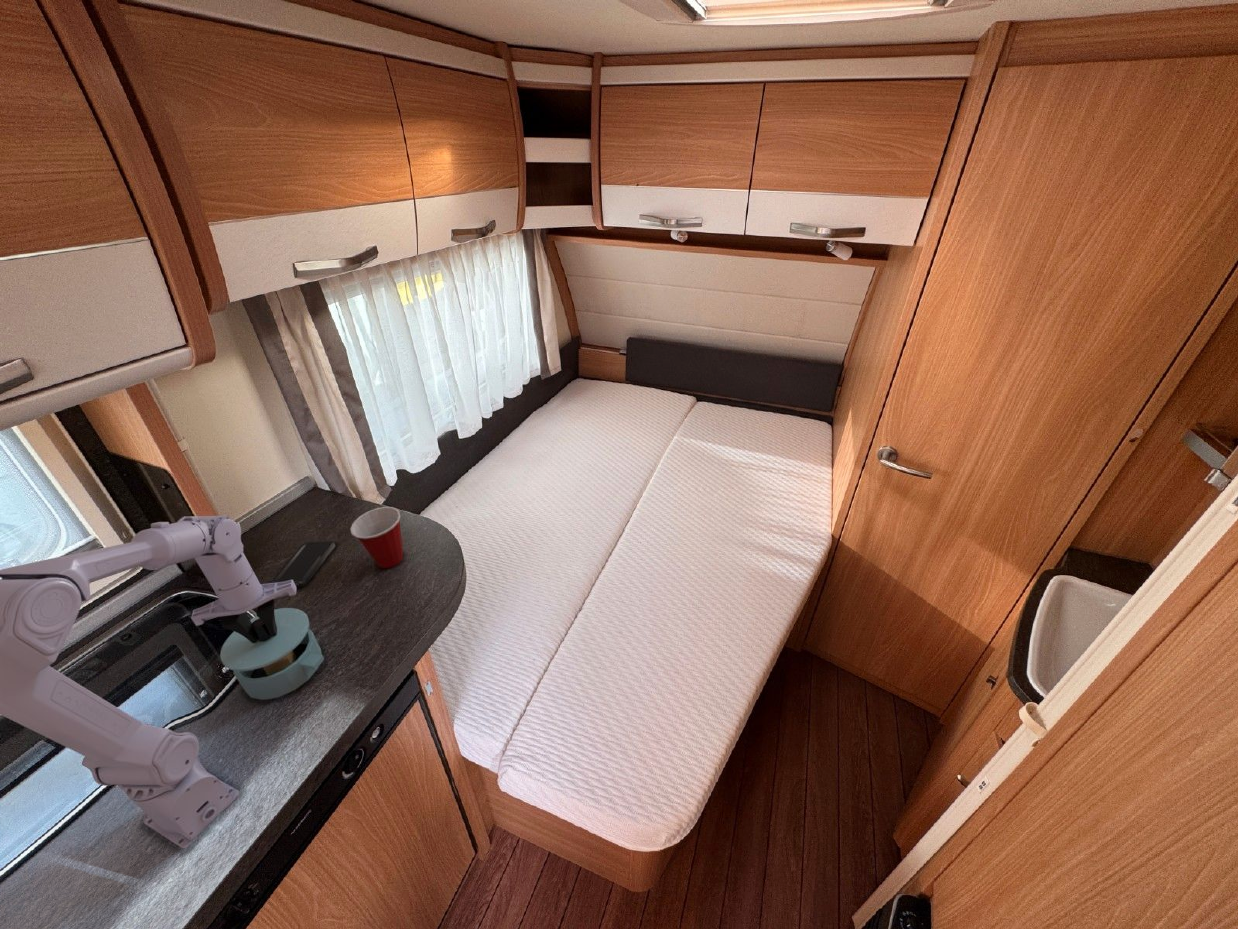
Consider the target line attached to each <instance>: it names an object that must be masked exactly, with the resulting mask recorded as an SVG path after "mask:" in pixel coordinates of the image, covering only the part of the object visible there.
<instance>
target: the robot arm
mask: <svg viewBox="0 0 1238 929" xmlns="http://www.w3.org/2000/svg"><path fill="white" fill-rule="evenodd" d="M244 547H245V546H244V544H243V542H242V528H241V524H240V522H236V521H235V520H233V519H232V518H231V517H229V516H227V515H193V516H190V515H189V516H182V517H181V518H179V520H177V521H176V522H173V523H170V522H169V521H157V522H152V523H150V528H146V529H143V530H140V531H138V532H137V533H136V534H135V535H134V536H133V537H132V539H131V541H130V542H126V543H120V544H116V545H112V546H106V547H101V548H97V549H91V550H87V551H82V552H77V553H72V554H67V555H62V556H57V557H53V558H47V559H42V560H38V561H33V562H29V563H25V564H19V565H15V566H11V567H6V568H2V569H0V578H1V579H0V716H2V717H4V718H7V719H8V720H11V721H13V722H15V723H16V724H18V725H21V726H23V727H25V728H26V729H29V730H30V731H32V732H35V733H37V734H38V735H41V736H42V737H45V738H47V739H49V740H51V741H53V742H55V743H57V744H59V745H62V746H63V747H66V748H67V749H70V750H72V752H73V751H74V752H75V753H78V754H79V755H81V756H83V759H82V762H81V766H83V767H85V768H87V769H88V770H89V771H90V772H91V775H92V778H93V780H94V782H95V783H96V784H98V785H99V786H105V787H106V786H107V787H108V786H113V785H116V786H118V788H120V789H121V790H123V791H124V794H125V795H126V796H127V797H128V798H129V799H131V800H132V801H133V803H134V804H135V805H137V807H138V808H139V809H140V810H141V811H142V812H143V813H144V814H145V815H146V816H147V817H146V818H145V819H144V821H143V824H144V825H146V826H147V827H149V828H151V829H152V830H153V831H155V832H156V833H158V834H159V835H161V836H162V837H163V838H166V839H168V840H169V841H170V842H172V843H174V844H175V845H177V846H178V847H180V848H181V849H186V848H188V847H189V846H190V845H191V844H192V843H193V842H194V840H196V839H197V838H198V836H199V835H200V834H201V833H202V832H204V830H205V829H206V828H207V827H209V825H210V824H211V823H212V822H213V821H214V820H216V818H217V817H218V816H219V815H220V814H221V813H222V812H223V811H225V810H227V809H228V807H229V806H231V804H233V802H234V801H235V800H236V799H237V798H238V797H239V796H240V794H241V792H240V790H238V789H237V788H235V787H233V786H231V785H230V784H228V783H226V782H224V781H222V780H220V779H219V778H217V777H216V775H213V774H211V773H210V772H208V771H207V770H206V768H205V767H204V766H203V765H202V764H201V762H200V761H199V760H198V757H199V752H200V743H199V739H198V737H197V736H196V734H194V733H193V732H189V731H185V732H175V731H173V730H172V729H169V728H165V727H161V726H156V725H151V724H148V723H144V722H141V721H140V720H138V719H136V718H135V717H133V716H131V715H130V714H128V713H127V712H125V711H123V710H122V709H120V708H118V707H117V706H115V705H114V704H113V703H111V702H109V701H107V700H106V699H104V698H102V697H101V696H99V695H97V694H96V693H94V692H93V691H91V690H89V689H87V687H85V686H82V685H81V684H79V683H78V682H76V681H75V680H73V679H71V678H70V677H68V676H66V675H65V674H63V673H62V672H60V671H58V670H56V669H55V668H53V667H52V666H51V665H52V664H53V663H55V662H56V660H57V658H58V657H59V654H60V652H61V650H62V649H63V646H64V645H65V642H66V640H67V639H68V636H69V634H70V632H71V630H72V628H73V626H74V624H75V622H76V620H77V618H78V616H79V613H80V610H81V606H82V602H88V601H89V600H90V598H91V588H90V584H91V583H95V582H97V581H101V580H103V579H106V578H109V577H112V576H115V575H117V574H121V573H123V572H126V571H129V570H132V569H134V568H138V567H140V568H143V569H144V570H149V571H156V570H161V569H164V568H167V567H170V566H174V565H177V564H181V563H184V562H186V561H190V560H193V559H194V560H195V562H196V564H197V565H198V567H199V569H200V570H201V572H202V573H203V575H204V576H205V578H206V580H207V581H208V583H209V585H210V586H211V589H212V590H213V591H214V593H215V595H216V596H217V598H218V599H216V600H215V601H212V602H210V603H208V604H205V605H203V606H201V607H198V608H196V609H193V610H192V613H191V616H190V619H191V620H192V622H193V623H194V625H195V627H199V626H201V625H203V624H204V623H205V622H206V621H209V620H212V619H215V618H219V617H220V618H221V619H220V620H221V624H220V625H221V627H222V628H223V629H225V630H229V631H233V632H234V631H235V632H237V633H239V634H241V635H242V636H244V637H245V638H247V639H248V640H249V641H250V642H251V643H256V642H257V638H256V636H255V634H254V633H253V631H252V629H251V628H250V625H251V621H250V620H251V619H250V618H249V615H248V612H250V611H252V610H254V609H256V608H257V609H256V616H257V617H259V618H260V619H261V620H262V621H263V623H264V624H265V625H266V627H267V629H268V631H269V633H270V635H271V636H272V637H273V636H276V635H277V626H276V622H275V614H274V610H275V605H276V599H278V598H282V597H285V596H289V597H292V596H296V595H297V587H296V586H295V583H294V581H293V580H289V581H285V582H278V583H271V582H270V583H260V581H259V579H258V577H257V576H256V574H255V572H254V570H253V568H252V566H251V564H250V563H249V561H248V559H247V557H246V555H245V553H244ZM150 821H151V822H150ZM180 841H182V842H180Z"/></svg>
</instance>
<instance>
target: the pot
mask: <svg viewBox="0 0 1238 929" xmlns="http://www.w3.org/2000/svg"><path fill="white" fill-rule="evenodd" d="M299 645H306V648H305V650H304V651H303V652H302V654H301V655H299V657H298V658H296V661H295V662H294V663H293V664H291V665H290V666H288V667H287V668H285V669H284V670H282V671H280V672H277V673H275V674H273V675H270V676H268V675H267V676H262V677H256V678H252V675H253V672H254V670H255V669H254V670H249V671H235V670H232V673H233V676H234V677H235V678H236V680H237V681H238V683H239V684H240V686H241V688H242V689H243V690H244V692H245V693H246V694H247V695H248V696H249V697H250V698H251V699H256V700H260V701H261V700H262V701H265V700H270V699H271V700H272V699H276V698H281V697H282V696H284V695H286V694H289V693H292V692H293V691H295V690H296V689H298V688H299V687H301V686H302V685H303V684H304V683H306V682H307V681H309V680H310V679H311V677H313V675H314V674H315V672H316V671H317V670H318V669H319V667H320V665H321V664H322V663H323V662H324V660H325V657H324V655H323V653H322V648H321V646H320V644H319V642H318V640H317V638H316V636H315V634H314V632H313V631H312V630H311V629H310V628H309V629H308V631H307V634H306V635H305V637H304V639H303V640H302V641H301V642H300V644H299Z"/></svg>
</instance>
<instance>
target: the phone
mask: <svg viewBox="0 0 1238 929" xmlns="http://www.w3.org/2000/svg"><path fill="white" fill-rule="evenodd" d="M335 548H336V544H335V542H334V541H333V540H313V541H312V540H308V541H305V542H304V543H302V544H301V546H299V548H298V549H297V550H296V551H295V553H294V554H292V556H291V557H290V559H288V561H287V562H286V563H285V565H284V566H283V567H282V568H281V569H280V571H279V572H278V573H277V574H276V575H275V576H274V578H273V579H272V580H271V582H270V583H278V582H285V581H289V580H293V581H294V583H295V586H296V588H303V587H305V586H306V585H308V584H309V582H310V581H311V579H312V578H313V577H314V575H315V574H316V573H317V571H318V570H319V569H320V567H321V566H322V565H323V564H324V562H325V561H326V560H327V558H328V557H329V556H330V554H331V553H332V552H333V550H334V549H335Z"/></svg>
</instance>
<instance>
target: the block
mask: <svg viewBox="0 0 1238 929" xmlns="http://www.w3.org/2000/svg"><path fill="white" fill-rule="evenodd" d="M296 660H297V655H296V654H295V651H294V649H293V650H292V651H291V652H290V653H288V654H287V655H286V656H284V657H282V658H281V659H279V660H277V661H276V662H274V663H271V664H269V665H267V666H264V667H262V670H264V672H265V674H266V675H267V676H270V675H273V674H275V673H277V672H280V671H282V670H284V669H285V668H287V667H288V666H290V665H291V664H293V663H294V662H295V661H296Z"/></svg>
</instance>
